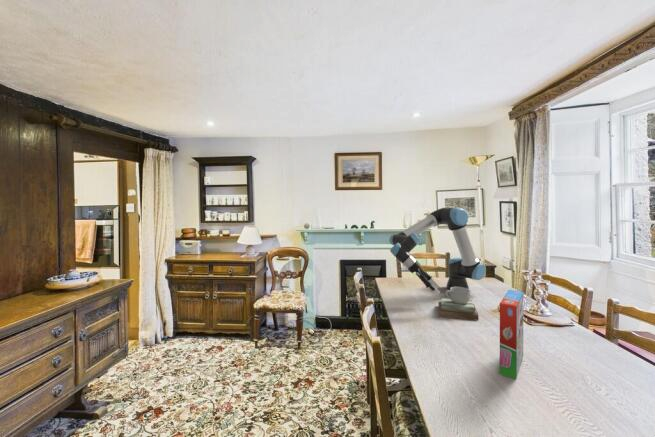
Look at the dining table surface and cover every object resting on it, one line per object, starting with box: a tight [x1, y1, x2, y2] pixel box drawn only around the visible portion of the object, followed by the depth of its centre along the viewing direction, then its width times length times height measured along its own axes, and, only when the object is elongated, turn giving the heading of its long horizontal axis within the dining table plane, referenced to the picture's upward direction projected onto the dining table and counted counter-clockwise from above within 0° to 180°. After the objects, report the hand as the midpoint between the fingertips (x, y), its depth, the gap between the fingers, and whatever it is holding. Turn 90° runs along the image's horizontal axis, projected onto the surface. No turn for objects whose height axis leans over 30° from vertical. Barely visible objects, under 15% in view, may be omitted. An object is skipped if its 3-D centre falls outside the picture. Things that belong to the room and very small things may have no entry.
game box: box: [499, 289, 524, 380], centre depth 115 cm, size 21×6×27 cm, turn 141°
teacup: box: [445, 287, 471, 304], centre depth 172 cm, size 14×11×8 cm
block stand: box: [438, 297, 479, 321], centre depth 172 cm, size 18×20×6 cm
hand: (438, 290), depth 175 cm, fingers open, 13 cm apart
